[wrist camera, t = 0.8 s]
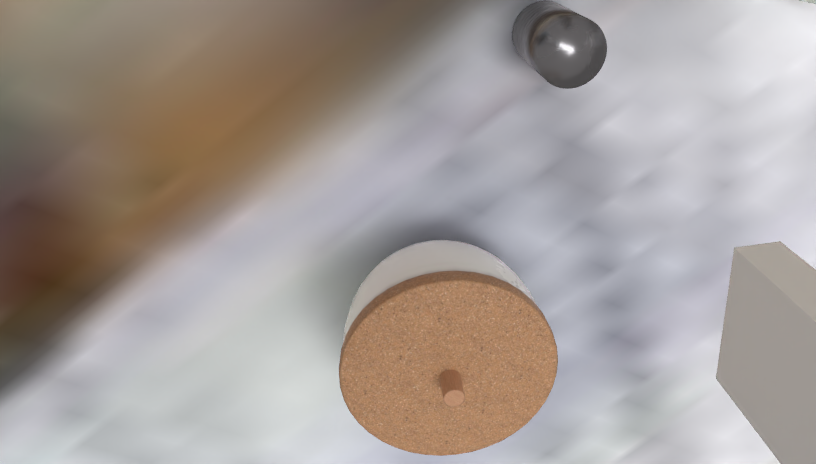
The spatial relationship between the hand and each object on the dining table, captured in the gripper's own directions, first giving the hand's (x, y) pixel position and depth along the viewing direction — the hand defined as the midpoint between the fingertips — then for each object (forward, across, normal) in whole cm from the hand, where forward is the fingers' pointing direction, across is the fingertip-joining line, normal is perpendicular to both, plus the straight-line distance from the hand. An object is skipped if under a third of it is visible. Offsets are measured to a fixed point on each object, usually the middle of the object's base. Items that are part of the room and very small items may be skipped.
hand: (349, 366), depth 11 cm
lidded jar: (+24, +3, -14) cm, 28 cm away
